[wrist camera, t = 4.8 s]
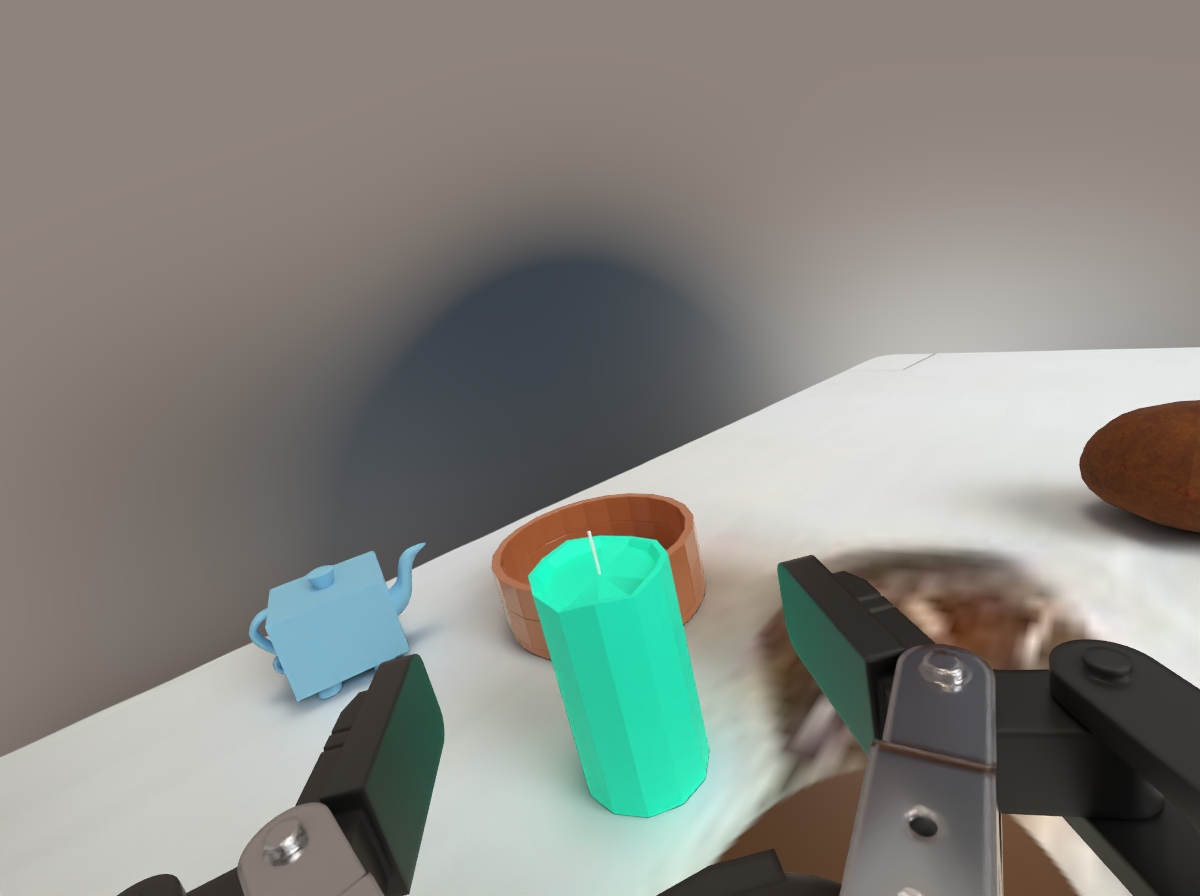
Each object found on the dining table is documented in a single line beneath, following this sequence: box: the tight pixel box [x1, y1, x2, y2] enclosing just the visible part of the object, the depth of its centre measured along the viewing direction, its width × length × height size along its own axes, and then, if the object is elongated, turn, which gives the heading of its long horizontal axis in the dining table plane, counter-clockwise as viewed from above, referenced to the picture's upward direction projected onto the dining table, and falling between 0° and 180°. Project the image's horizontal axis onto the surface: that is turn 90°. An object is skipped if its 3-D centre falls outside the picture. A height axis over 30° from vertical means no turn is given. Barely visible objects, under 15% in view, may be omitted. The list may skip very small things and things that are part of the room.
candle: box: [528, 531, 709, 817], centre depth 26 cm, size 6×6×12 cm
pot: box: [492, 493, 706, 659], centre depth 41 cm, size 14×14×5 cm
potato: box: [1079, 400, 1200, 533], centre depth 34 cm, size 8×11×8 cm
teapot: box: [249, 543, 425, 701], centre depth 40 cm, size 12×6×8 cm, turn 118°
